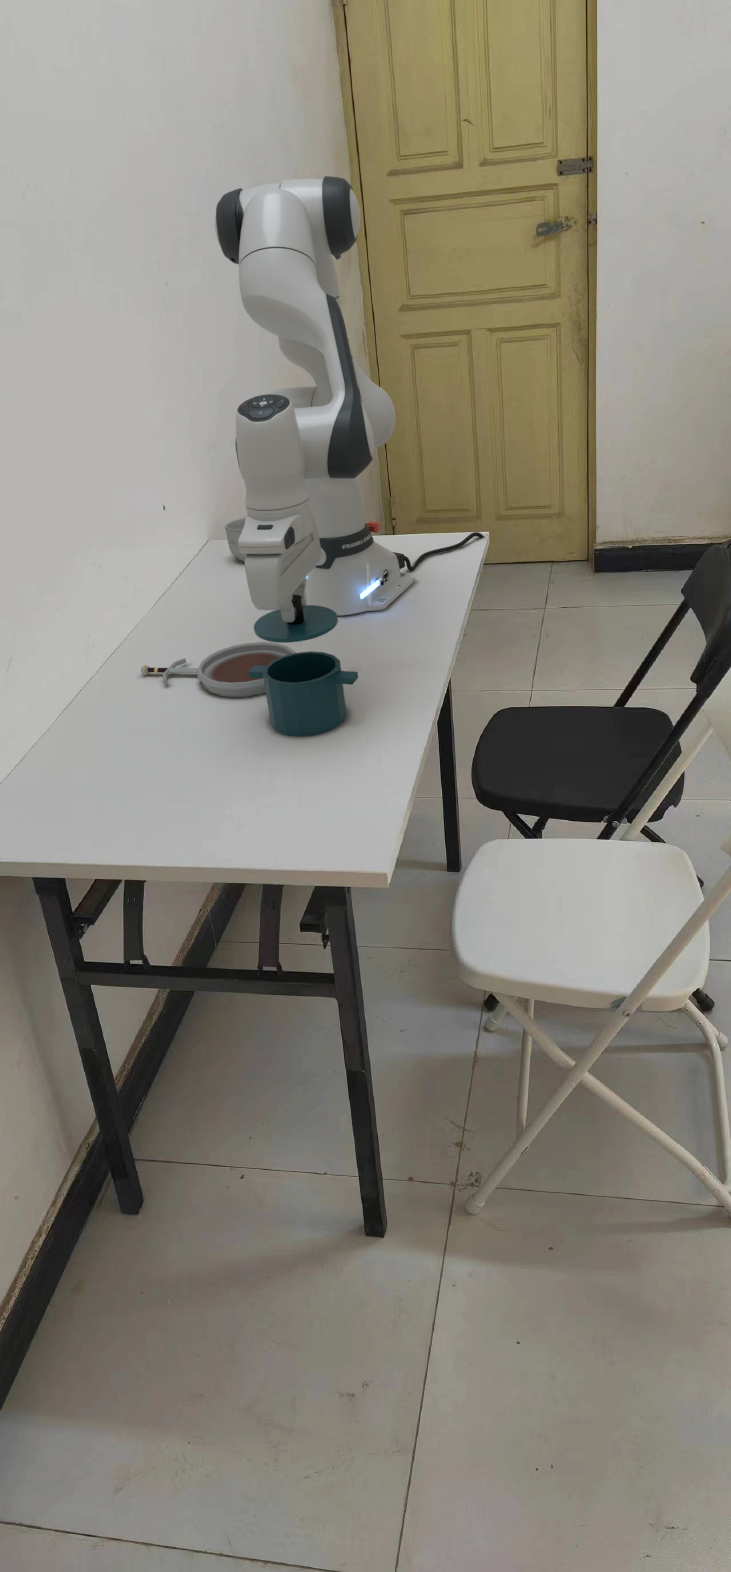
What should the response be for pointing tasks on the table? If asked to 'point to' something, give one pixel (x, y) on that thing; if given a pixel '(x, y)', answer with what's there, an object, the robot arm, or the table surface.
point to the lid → (296, 623)
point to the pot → (305, 692)
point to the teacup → (235, 536)
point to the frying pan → (230, 668)
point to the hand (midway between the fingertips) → (294, 614)
